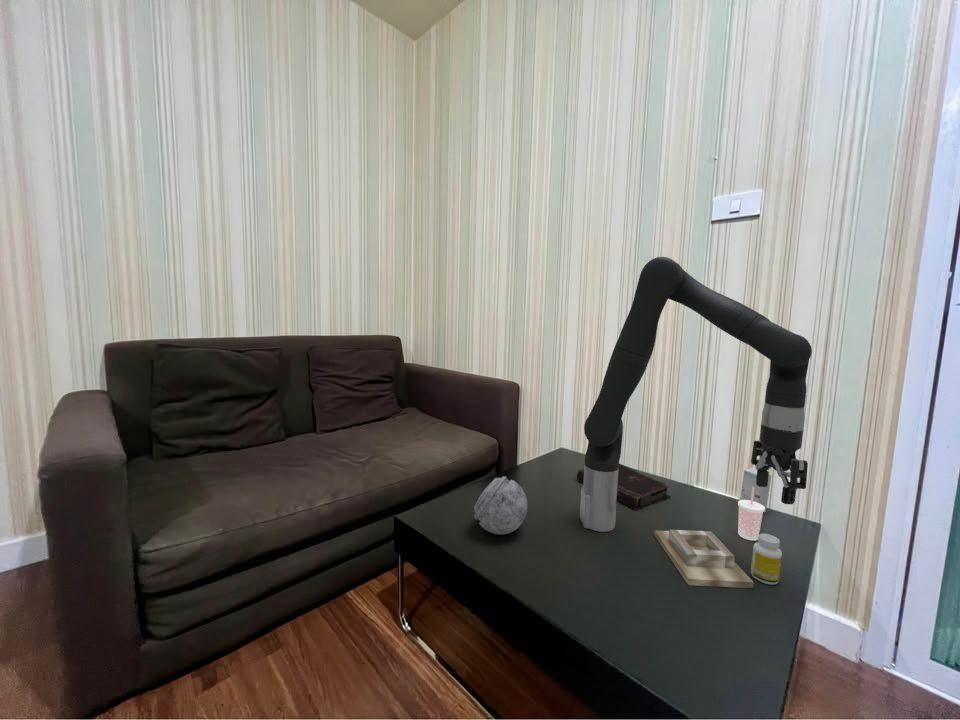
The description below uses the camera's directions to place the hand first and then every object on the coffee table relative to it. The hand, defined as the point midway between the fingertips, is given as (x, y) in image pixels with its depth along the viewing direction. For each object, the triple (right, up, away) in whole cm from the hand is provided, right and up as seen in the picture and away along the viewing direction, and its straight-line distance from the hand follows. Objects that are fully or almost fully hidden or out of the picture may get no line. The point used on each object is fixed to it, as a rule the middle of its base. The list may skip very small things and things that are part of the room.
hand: (773, 494), depth 91 cm
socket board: (-12, -19, +9) cm, 24 cm away
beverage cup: (+7, -18, +20) cm, 28 cm away
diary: (-17, -15, +48) cm, 53 cm away
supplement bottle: (-1, -20, +2) cm, 20 cm away
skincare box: (+19, -16, +35) cm, 43 cm away
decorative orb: (-61, -17, +20) cm, 66 cm away
